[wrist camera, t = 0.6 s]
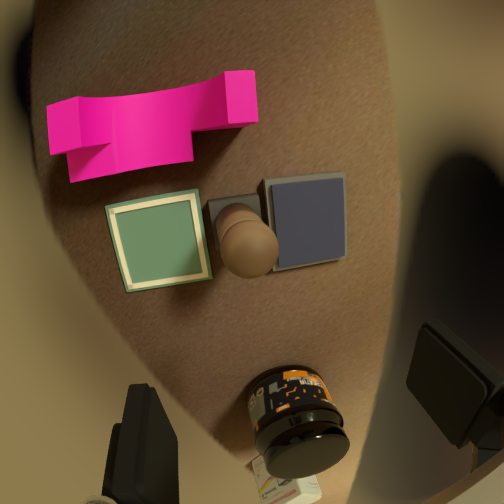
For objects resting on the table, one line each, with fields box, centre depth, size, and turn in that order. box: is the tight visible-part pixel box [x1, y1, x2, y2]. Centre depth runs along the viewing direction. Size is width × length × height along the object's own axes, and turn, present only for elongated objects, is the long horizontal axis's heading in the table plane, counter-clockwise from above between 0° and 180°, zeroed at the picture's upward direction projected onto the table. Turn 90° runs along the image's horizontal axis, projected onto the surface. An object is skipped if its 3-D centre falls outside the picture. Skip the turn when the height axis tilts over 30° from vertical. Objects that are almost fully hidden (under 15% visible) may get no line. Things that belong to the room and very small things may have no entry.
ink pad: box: [263, 171, 347, 271], centre depth 29 cm, size 9×8×2 cm
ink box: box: [252, 455, 322, 504], centre depth 38 cm, size 9×5×12 cm, turn 142°
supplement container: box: [246, 365, 350, 479], centre depth 32 cm, size 10×10×12 cm
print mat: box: [105, 188, 213, 292], centre depth 28 cm, size 9×9×1 cm
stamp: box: [208, 193, 279, 279], centre depth 24 cm, size 4×4×10 cm
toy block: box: [47, 70, 258, 183], centre depth 22 cm, size 15×6×8 cm, turn 94°
